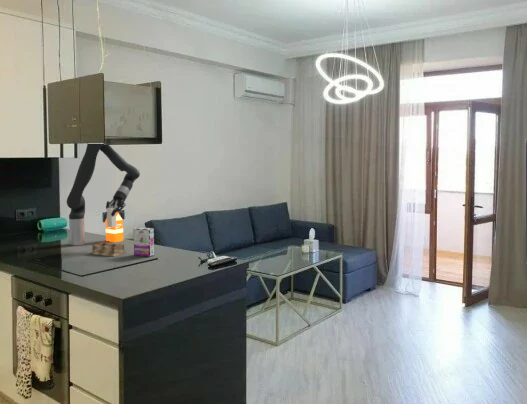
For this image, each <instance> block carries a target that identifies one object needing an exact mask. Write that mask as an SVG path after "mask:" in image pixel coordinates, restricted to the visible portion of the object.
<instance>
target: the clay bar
mask: <svg viewBox="0 0 527 404" xmlns="http://www.w3.org/2000/svg"><path fill="white" fill-rule="evenodd" d="M114 208H115V207H113V206H112V207H110V208H107V209H106V212H107V215H106V218H107V227H116V226H117V225H116V214H115V215H114V216H112V215H111V213H112V212H113V210H114Z"/></svg>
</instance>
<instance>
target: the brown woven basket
mask: <svg viewBox="0 0 527 404" xmlns="http://www.w3.org/2000/svg"><path fill="white" fill-rule="evenodd" d="M91 247H92V249H91V250H92V251H90V255H95V256H96V255H97V256H104V257H106V256H107V257H116V256H119V255H120V256H121V255H124V254H126V253H127V251H126V250H125V244H123V243H122V244H121V243H114V242H100V243H96V244H93V245H92V246H91Z"/></svg>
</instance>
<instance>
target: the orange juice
mask: <svg viewBox="0 0 527 404" xmlns="http://www.w3.org/2000/svg"><path fill="white" fill-rule="evenodd" d="M116 225H117V226H116V227H107V217H106V218H105V242H108V241H109V242H108V243H120V242H123V241H124V219H123V218H122V217H121V214H120V213H119V211H117V212H116Z"/></svg>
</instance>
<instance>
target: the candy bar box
mask: <svg viewBox="0 0 527 404" xmlns="http://www.w3.org/2000/svg"><path fill="white" fill-rule="evenodd" d="M154 232H155V228H153V227H151V228H150V227H135V228H133V255H134V256H135V257H147V258H149V257H153V256H155V233H154Z"/></svg>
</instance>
